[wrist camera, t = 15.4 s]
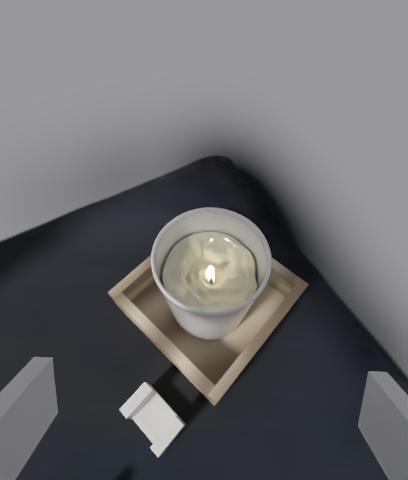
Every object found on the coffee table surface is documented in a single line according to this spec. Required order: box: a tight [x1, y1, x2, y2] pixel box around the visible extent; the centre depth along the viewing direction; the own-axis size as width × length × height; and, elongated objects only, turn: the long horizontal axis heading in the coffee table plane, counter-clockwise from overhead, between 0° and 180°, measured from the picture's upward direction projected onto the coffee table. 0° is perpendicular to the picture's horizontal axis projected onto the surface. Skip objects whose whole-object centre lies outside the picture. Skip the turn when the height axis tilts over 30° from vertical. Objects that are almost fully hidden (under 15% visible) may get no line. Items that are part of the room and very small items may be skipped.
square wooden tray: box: [108, 256, 309, 406], centre depth 32 cm, size 15×15×5 cm
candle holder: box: [151, 208, 272, 340], centre depth 28 cm, size 10×10×12 cm
